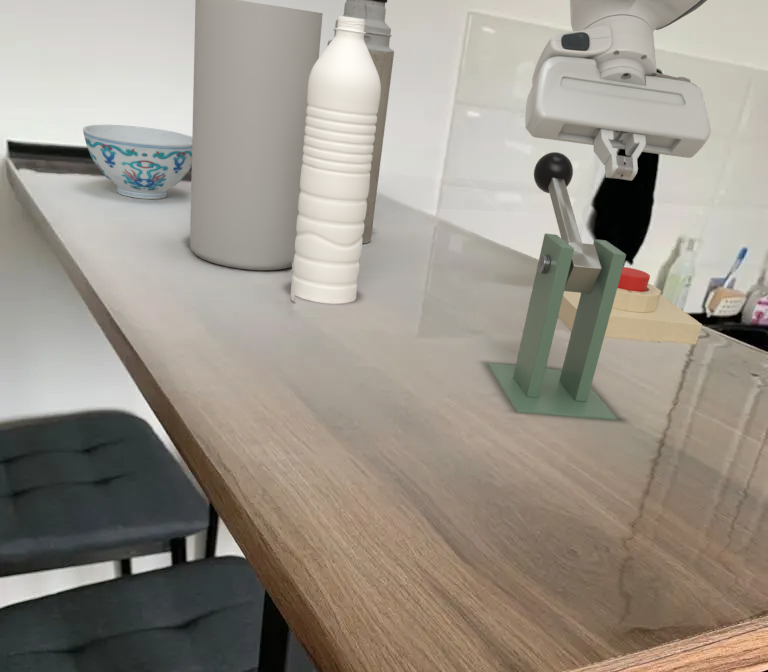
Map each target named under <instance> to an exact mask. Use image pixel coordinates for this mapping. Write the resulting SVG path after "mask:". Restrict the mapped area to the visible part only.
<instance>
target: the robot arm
mask: <svg viewBox="0 0 768 672" xmlns="http://www.w3.org/2000/svg"><path fill="white" fill-rule="evenodd" d="M707 1H708V0H569V13H570V26H571V30H572V31H569V32H561V33H555V34H553V35H552V36H551V37H550V38H549V39H548V42H547V43H546V45H545V46H544V48H543V49H542V52H541V54H540V56H539V58H538V61H537V63H536V65H535V68H534V70H533V74H532V78H531V84H532V85H531V88H530V90H529V92H528V95H527V98H526V105H525V115H524V116H525V117H524V125H525V129H526V131H527V132H528V133H529V134H530V136H532V137H533V138H536V139H544V140H550V141H551V140H552V141H559V142H565V143H566V142H567V143H574V144H580V145H581V144H582V145H590V146H593V152H594V154H595V155H596V156H597V158H598V159H599V160H600V162H601V163H602V165H603V166H604V172H605V173H604V175H605V178H606V179H607V178H608V179H616V180H624V181H633V180H634V179H635V177H636V175H637V174H638V170H639V167H638V159H639V157H640V156H641V155H642V153H648V154H649V153H650V154H656V155H664V156H671V157H679V158H687V159H691V158H693V157H694V156H696V155H697V154H698V153H699V152H700V150H702V148H703V147H704V146H705V144H706V143H707V141H708V140H709V138H710V136H711V134H712V133H711V124H710V117H709V114H708V110H707V106H706V102H705V100H704V92H703V89H702V88H701V87H699V86H697V85H696V84H695V83H693V82H691V79H690V78H687V77H684V76H678V77H677V76H673V75H668V74H664V73H658V72H657V60H656V59H657V58H656V48H655V47H656V46H655V35H654V31H655V30H656V31H659V30H661V29H664V28H667V27H668V26H670V25H673V24H674V23H675V22H678V21H679V20H681V19H682V18H685V17H686V16H688V15H689V14H691V13H693V12H695V11H696V10H697V9H699V8H700V7H701V6H702V5H704V4H705V3H706V2H707ZM615 149H618V150H619V149H620V150H624V151H625V152H624V153H625V155H619V154H617V152H616V150H615Z"/></svg>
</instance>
